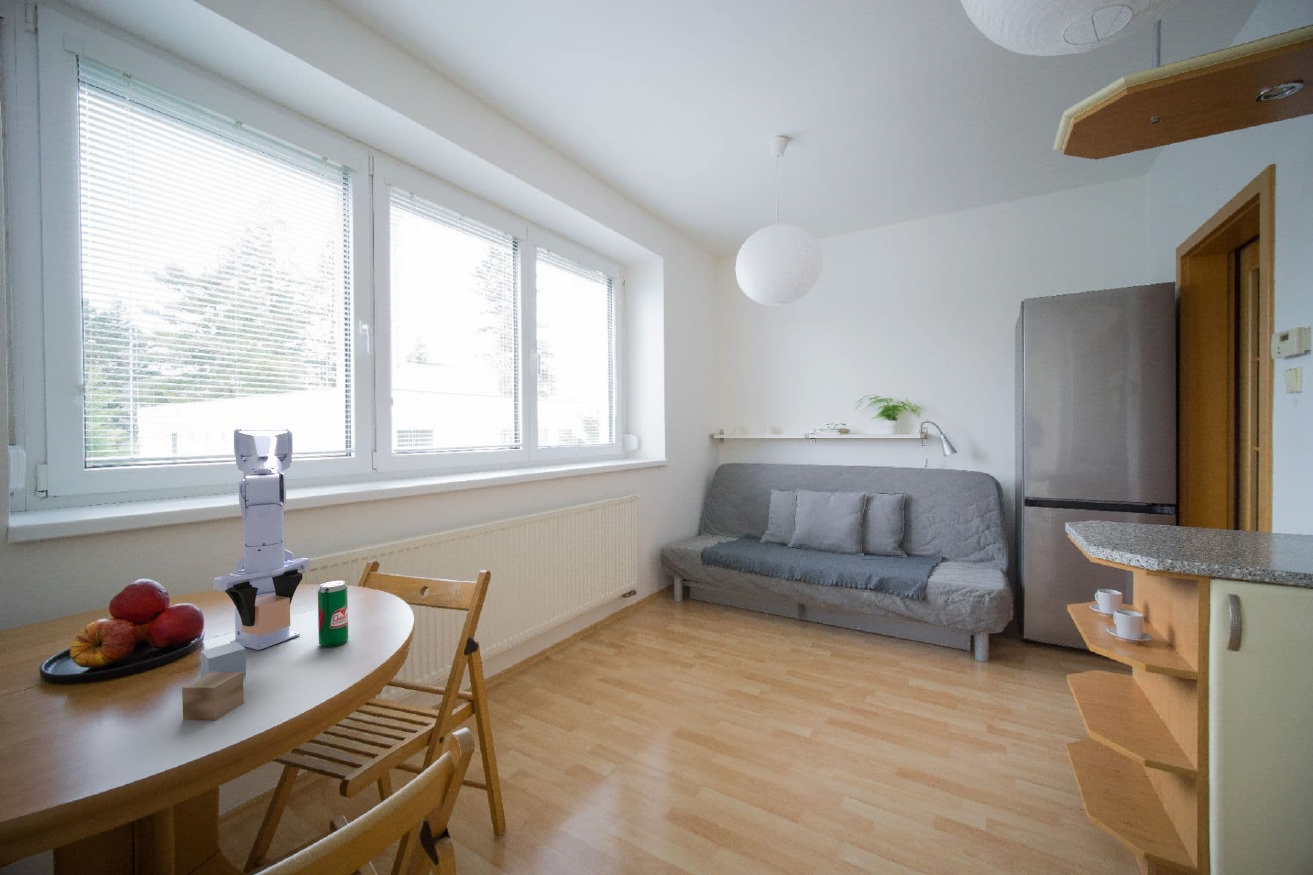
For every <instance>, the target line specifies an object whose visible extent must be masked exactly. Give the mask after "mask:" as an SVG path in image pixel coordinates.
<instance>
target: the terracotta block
mask: <svg viewBox="0 0 1313 875" xmlns="http://www.w3.org/2000/svg"><path fill="white" fill-rule="evenodd" d="M287 626H290V627H291V604H290V598H288V597H283V596H278V595H268V596H265V597H261V598H258V599H256V600H255V622H254V626H251V627H248V626H244V625H243V624H242V632H245V633H250V634H254V635H258V636H261V635H264V634H267V633H270V632H273V631H276V630H279V629H282V628H285V627H287Z"/></svg>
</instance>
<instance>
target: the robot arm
mask: <svg viewBox="0 0 1313 875" xmlns="http://www.w3.org/2000/svg"><path fill="white" fill-rule="evenodd" d="M233 451H234V456H235V465H237V469H238V471H241V472H243V478H242V479H241V478H240V479H239V481H238V503H239V508H240V511H241V520H243V522H242V534H243V535H242V536H243V539H242V540H243V542H242V544H243V555H242V556H241V557H240V558H239V559H238V561H237V562H236V566H235V568H236V569H235V571H234V572H231V573H229V574H224V575H221V576H218V577H214V578H213V581H212V582H213V590H214V591H218V592H223V591H224V592H225V593H226V594H227V595H228V597H229V598H230V600H231V601H232V602H233V605H234V606H235V609H234V624H235V625H234V627H235V628H234V629H235V630H234V634H235V636H234V637H235V638H234V639H231V640H230V643H233V642H238V643H240V644H241V645H242V646H243V647H244V648H248V649H253V650H258V651H259V650H263V649H265V648H268V647H271V646H274V645H276V644H280V643H282V642H285V641H288V640H290V639H293V638H296V637H299V636H300V634H301V633H300V632H297V631H293V630H290V629H291V628H290V627H291V625H290V626H287V627H285V628H282V629H279V630H276V631H273V632H270V633H267V634H264V635H261V636H258V635H254V634H250V633H245V632H242V624H243V625H244V626H248V627H251V626H254V622H255V600H256V599H258V598H261V597H265V596H268V595H278V596H283V597H288V598H290V605H291V603H292V600H293V597H294V594H295V592H296V590H297V588H298V586H299V585H300V583H301V581H302V580H303V573H302V572H299V571H302V570H303V571H307V570H309V569H311V561H310V558H306V557H300V558H295V555H294V552H292V551H290V550H289V549H285V520H284V519H285V518H284V515H285V514H284V506H286V502H287V481H286V477H285V474H284V471H286V470H288V469H290V468H291V464H292V463H293V462H292V461H293V460H292V458H293V455H292V454H293V430H292V428H290V427H289V426H287V427H256V428H255V427H244V428H243V427H242V428H241V427H236V429H235V430H234V432H233ZM281 503H282V504H283V505H282V504H281Z"/></svg>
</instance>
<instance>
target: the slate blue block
mask: <svg viewBox="0 0 1313 875" xmlns="http://www.w3.org/2000/svg"><path fill="white" fill-rule="evenodd" d="M246 648H247V647H245V646H242V645H241V644H240V643H238V642H233V643H226V644H221V645H218V646H214V647H211V648H208V649H207V648H206V649H204V650H201V651H200V669H201V670H200V671H201V672H200V674H201V677H203V676H205V675H207V674H209V673H211V672H243V678H246V677H247V654H246V653H247V652H246V650H247V649H246ZM201 677H200V678H201Z"/></svg>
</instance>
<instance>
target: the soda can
mask: <svg viewBox="0 0 1313 875" xmlns="http://www.w3.org/2000/svg"><path fill="white" fill-rule="evenodd" d="M348 596H349V595H348V586H347V584H346V582H345V581H343V580H333V581H328V582H324V583H322V584H320V585H319V588H318V590H317V619H318V621H317V624H318V633H317V634H318V645H320V646H321V647H323V648H333V647H339V646H341V645H343V644H344V643H347V641H348V640H349V606H348V605H349V604H348V601H349V600H348V599H349V598H348Z"/></svg>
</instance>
